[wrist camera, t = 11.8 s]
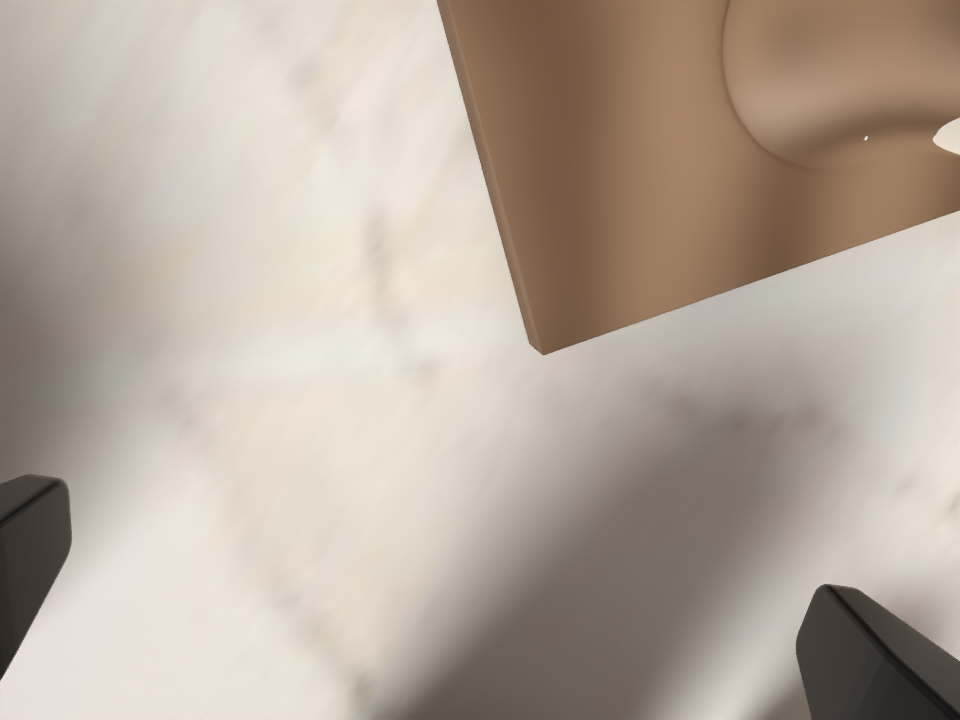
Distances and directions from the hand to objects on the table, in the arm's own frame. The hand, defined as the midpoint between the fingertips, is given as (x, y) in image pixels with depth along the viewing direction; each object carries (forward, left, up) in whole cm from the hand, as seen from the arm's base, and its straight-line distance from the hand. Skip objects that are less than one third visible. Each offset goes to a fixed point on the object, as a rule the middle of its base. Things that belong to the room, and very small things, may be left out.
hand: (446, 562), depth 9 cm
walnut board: (+12, +4, -11) cm, 16 cm away
